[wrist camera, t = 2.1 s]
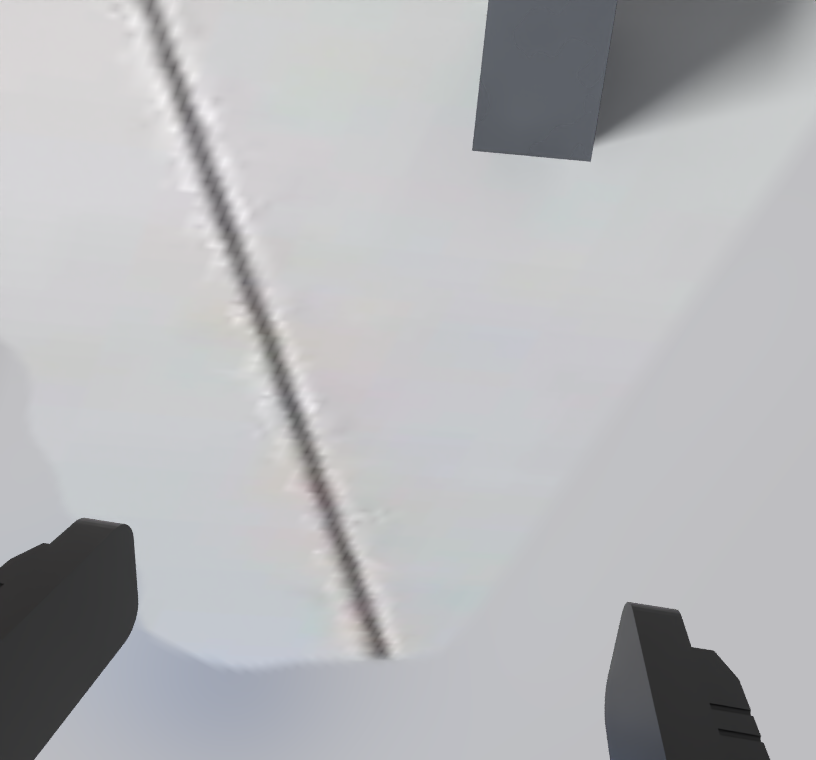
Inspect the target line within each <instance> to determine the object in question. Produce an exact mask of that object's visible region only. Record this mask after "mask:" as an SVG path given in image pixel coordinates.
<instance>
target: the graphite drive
mask: <svg viewBox="0 0 816 760" xmlns="http://www.w3.org/2000/svg"><path fill="white" fill-rule="evenodd" d="M616 5H617V0H489V2H488V11H487V20H486V29H485V38H484V48H483V57H482V66H481V75H480V84H479V93H478V102H477V112H476V121H475V130H474V139H473V148H472V151H482V152H493V153H504V154H515V155H525V156H536V157H547V158H558V159H569V160H579V161H590V162H591V156H592V150H593V144H594V138H595V132H596V126H597V120H598V114H599V108H600V102H601V96H602V90H603V84H604V78H605V72H606V66H607V60H608V54H609V48H610V41H611V35H612V29H613V23H614V17H615V11H616Z"/></svg>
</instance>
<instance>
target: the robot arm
mask: <svg viewBox="0 0 816 760" xmlns="http://www.w3.org/2000/svg"><path fill="white" fill-rule="evenodd" d="M137 610H138V591H137V577H136V564H135V550H134V538H133V532H132V530H131V528H130V527H129V526H128V525H126V524H120V523H114V522H107V521H101V520H95V519H88V518H81V519H79V520H77V521H76V522H74V523H73V524H72V525H71V526H70V527H69V528H67V529H66V530H65V531H64V532H63V533H62V534H61V535H59V536H58V537H57V538H56V539H55V540H54V541H53V542H52V543H50V544H46V543H43V544H41V545H38V546H36V547H34V548H32V549H30V550H28V551H26V552H24V553H22V554H20V555H18V556H16V557H14V558H12V559H10V560H9V561H7V562H6V563H5V564H4V565H3V566H2V567H0V760H34V759H35V758H36V757H37V755H38V754H39V753H40V751H41V750H42V749H43V747H44V746H45V745H46V744H47V742H48V741H49V740H50V738H51V737H52V736H53V734H54V733H55V732H56V731H57V729H58V728H59V727H60V725H61V724H62V723H63V721H64V720H65V719H66V718H67V716H68V715H69V714H70V713H71V711H72V710H73V708H74V707H75V706H76V705H77V703H78V702H79V701H80V699H81V698H82V697H83V696H84V694H85V693H86V692H87V691H88V689H89V688H90V687H91V685H92V684H93V683H94V681H95V680H96V679H97V678H98V676H99V675H100V674H101V672H102V671H103V670H104V669H105V667H106V666H107V665H108V663H109V662H110V661H111V660H112V658H113V657H114V656H115V654H116V653H117V652H118V650H119V649H120V648H121V647H122V645H123V644H124V643H125V641H126V640H127V638H128V637H129V635H130V633H131V631H132V628H133V626H134V623H135V620H136V616H137ZM750 711H751V710H750V707H749V704H748V702H747V699H746V697H745V694H744V691H743V689H742V686H741V684H740V681H739V679H738V678H737V677H736V676H735V674H734V673H733V672H732V671H731V670H730V669H729V668H728V666H727V665H726V664H725V663H724V662H723V661H722V660H721V658H720V657H719V656H718V655H717V654H716V653H715V652H714V651H712V650H706V649H699V648H693V647H691V644H690V641H689V639H688V635H687V632H686V629H685V626H684V623H683V619H682V617H681V614H680V612H679V611H678V610H676V609H669V608H663V607H657V606H650V605H644V604H638V603H631V602H627V603H626V604H625V606H624V609H623V612H622V616H621V620H620V625H619V629H618V634H617V638H616V643H615V647H614V652H613V657H612V661H611V665H610V670H609V674H608V679H607V685H606V693H605V725H606V732H607V740H608V748H609V755H610V760H770V758H769V756H768V753H767V751H766V748H765V745H764V743H762V742H761V740H760V737H761V735H760V733H759V730H758V728H757V725H756V722H755V720H754V717H753V716H751V714H750Z"/></svg>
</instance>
